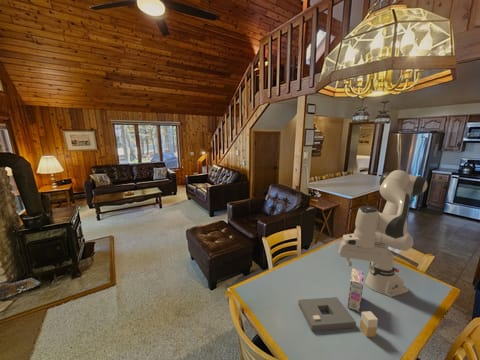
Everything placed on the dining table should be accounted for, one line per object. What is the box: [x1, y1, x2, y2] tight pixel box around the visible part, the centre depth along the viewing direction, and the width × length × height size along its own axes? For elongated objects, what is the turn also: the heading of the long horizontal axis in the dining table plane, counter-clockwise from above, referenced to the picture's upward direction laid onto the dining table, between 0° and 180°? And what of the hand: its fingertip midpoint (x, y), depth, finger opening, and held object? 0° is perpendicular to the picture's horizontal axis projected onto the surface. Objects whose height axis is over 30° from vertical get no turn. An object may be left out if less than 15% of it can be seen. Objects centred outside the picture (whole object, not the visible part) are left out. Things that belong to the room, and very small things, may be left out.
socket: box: [298, 296, 357, 332], centre depth 104 cm, size 22×16×4 cm
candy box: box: [347, 267, 364, 313], centre depth 112 cm, size 14×6×16 cm, turn 148°
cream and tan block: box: [359, 310, 379, 338], centre depth 94 cm, size 4×4×9 cm
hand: (360, 267), depth 98 cm, fingers open, 8 cm apart
